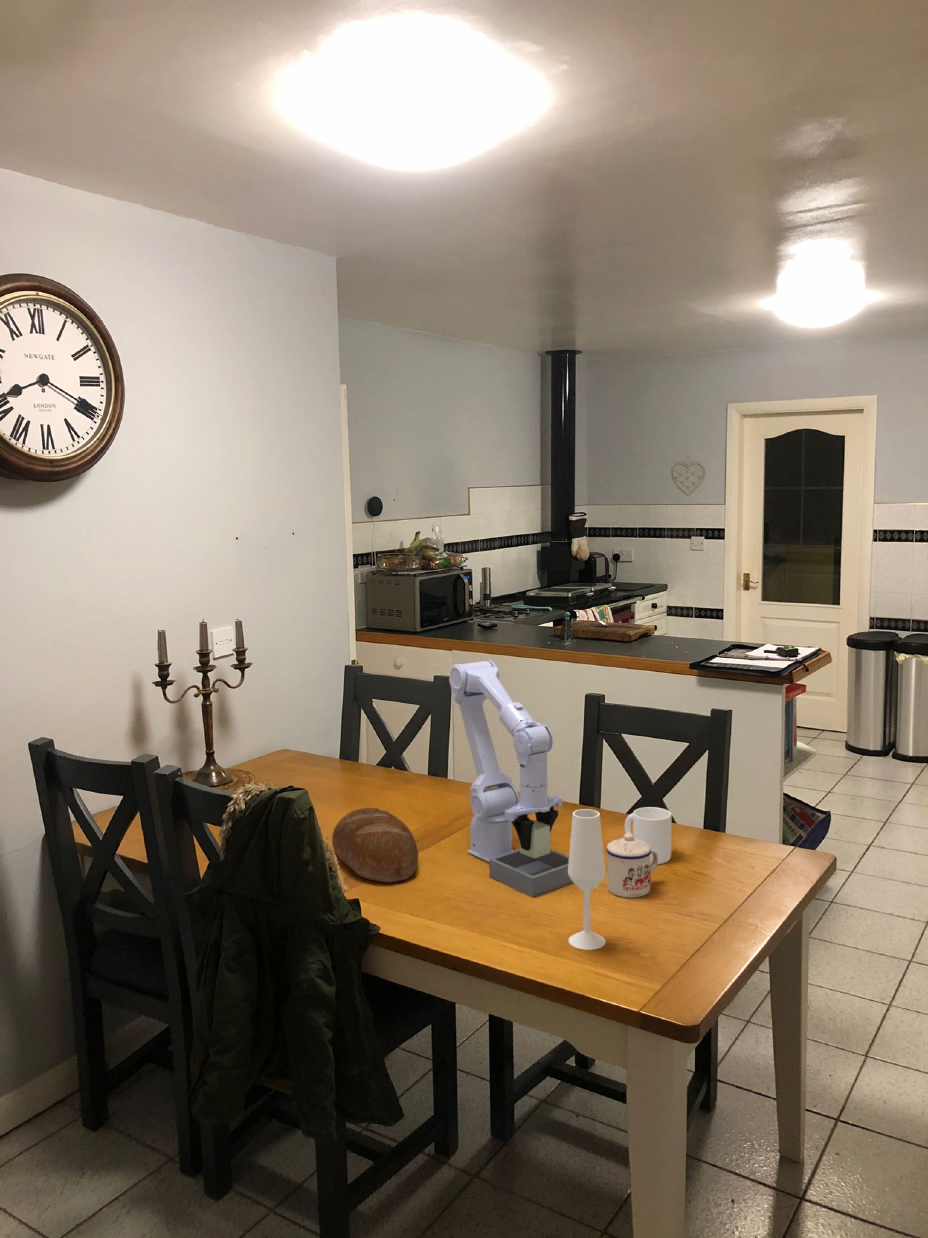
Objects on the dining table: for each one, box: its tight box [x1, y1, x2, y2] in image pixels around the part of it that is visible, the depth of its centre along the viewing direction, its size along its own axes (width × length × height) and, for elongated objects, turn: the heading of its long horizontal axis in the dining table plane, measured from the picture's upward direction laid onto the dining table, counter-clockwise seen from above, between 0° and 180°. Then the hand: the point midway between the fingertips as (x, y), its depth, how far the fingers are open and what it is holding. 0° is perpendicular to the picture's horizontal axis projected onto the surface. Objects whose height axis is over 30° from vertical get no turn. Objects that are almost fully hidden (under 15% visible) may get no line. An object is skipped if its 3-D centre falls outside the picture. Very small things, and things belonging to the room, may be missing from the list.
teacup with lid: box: [605, 833, 658, 899], centre depth 194 cm, size 12×9×12 cm
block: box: [519, 820, 551, 859], centre depth 200 cm, size 4×4×6 cm
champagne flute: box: [568, 808, 606, 951], centre depth 171 cm, size 7×7×24 cm
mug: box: [624, 806, 672, 865], centre depth 211 cm, size 12×8×10 cm
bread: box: [331, 807, 419, 884], centre depth 212 cm, size 16×29×11 cm, turn 27°
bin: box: [488, 848, 574, 898], centre depth 201 cm, size 14×14×4 cm
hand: (534, 846), depth 200 cm, fingers closed on block, 4 cm apart
